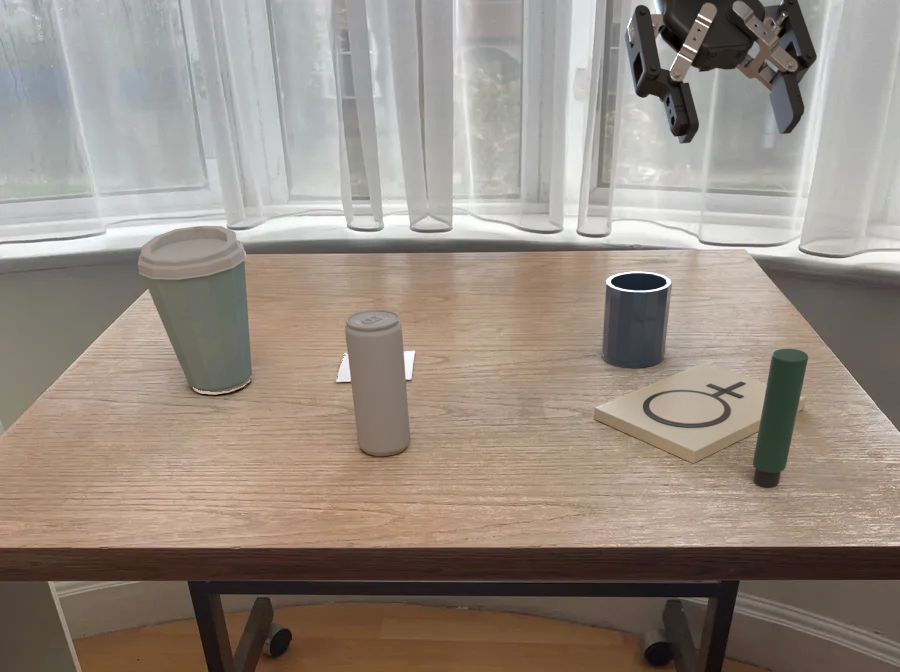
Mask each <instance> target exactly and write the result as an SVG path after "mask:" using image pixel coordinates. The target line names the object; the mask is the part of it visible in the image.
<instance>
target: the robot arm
mask: <svg viewBox="0 0 900 672" xmlns="http://www.w3.org/2000/svg"><path fill="white" fill-rule="evenodd" d="M653 3H654V4H653V5H654V7H655V11H656V12H655V13H651V11H650V8H649V7H648V6H646V5H644V4H639V5H637V6H636V7H635V8H634V10H633V13H632V16H631V18H630V19H629V23H628V25H627V27H626V30H625V32H624V41H625V46H626V51H627V57H628V61H629V67H630V68H629V69H630V72H631V73H630V74H631V79H632V83H633V89H634V93H635V94H636V96H637V97H638V98H642V99H645V98H647V97H648V96H649V95H650V96H654V97H656V98H657V97H658V100H659V101H660V102H661V103H663V107H664V111H665V114H666V118H667V123H668V127H669V131H670V132H671V134H672V135H673V137H675V138H677V139H678V142H679V144H681V145H683V144H690V143H691V142H693V139H694V137H695V136H696V134H697V132H698V131H699V128H700V121H699V116H698V113H697V109H696V105H695V102H694V98H693V93H692V90H691V86H690V83H689V82H684V79H685V78H686V76H687V74H688V71H689V69H690V68H691V67H692V68H694V69H697V70H698V71H697V72H699V73H701V72H710V71H712V70H715V69H720V70H727V71H728V70H736V69H737V70H738V71H740V72H741V73H742V74H743V75H744V76H745V77H746V78H747V79H749V80H753V79H756V80H758V82H760V83H761V84H762V85H763V86H764V87H766V89H768V90H769V94H768V98H769V102H770V105H771V108H772V112H773V115H774V119H775V123H776V126H777V130H778V133H779V134H780V135H786V134H787V135H788V134H791V133H792V132H793V130H794V129H795V128H796V127H797V125H798V124H799V123H800V122H801V119H802V116H803V115H804V113H805V104H804V101H803V97H802V94H801V89H800V85H799V84H800V82H801V81H802V80H803V78H804V77H805V75H806V73H807V72H808V71H809V70H810V68H811V67H812V66H813V65H814V63H815V62H816V61H817V58H818V57H817V51H816V49H815V47H814V44H813V40H812V38H811V35H810V32H809V29H808V27H807V23H806V21H805V18H804V14H803V12H802V8H801V6H800V3H799V0H781V2H780V3H779V4H773V5H766V6H764V4H763V3H762V2H761V0H653ZM658 36H660V38H661V39H662V40H663V42H664V43H666V44H667V46H668V47H670V48H671V49H672V50H673V51H674V52H675V53H676V57H675V58H674V60H673V63H672V65H671V67H670V69H665V68H662V67H661V62H660V57H659V51H658V46H657V41H656V40H657V38H658ZM754 43H756V44H757V45H758V47H759V50H758V53H757V54H756V56H755V57H752V56H751V55H750V54H749V53H750V51H751V50H752V48H753V47H754ZM768 61H769V62H770V63H771V64H772V65H773V66H774V67H776V69H777V70H776V71H775V70H774V69H773V68H772V67H771V66H770V65H769V64H768Z"/></svg>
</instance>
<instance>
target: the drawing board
mask: <svg viewBox="0 0 900 672" xmlns="http://www.w3.org/2000/svg"><path fill="white" fill-rule="evenodd" d="M766 387H767V382H763V381H761V380H758V379H756V378H752V377H749V376H747V375H743V374H741V373H738V372H736V371H732V370H730V369H727V368H724V367H721V366H718V365H715V364H712V363H709V362H707V361H704V362H700V363H698V364H696V365H693V366H692V367H691V366H690V367H689V368H687V369H684V370H681V371H680V372H676V373H675V374H672V375H670V376H667V377H665V378H663V379H660V380H658V381H655V382H653V383H650V384H648V385H646V386H644V387H640V388H638V389H636V390H634V391H631V392H628V393H627V394H625V395H622V396H619V397H617V398H614V399H611V400H609V401H608V402H605V403H602V404H600V405H597V406H595V407H594V410H593V411H594V414H593V420H596V421H598V422H600V423H602V424H605V425H606V426H609V427H611V428H613V429H615V430H618V431H620V432H622V433H624V434H627V435H629V436H631V437H634V438H636V439H638V440H639V441H643V442H644V443H646V444H649V445H651V446H653V447H656V448H657V449H660V450H662V451H664V452H667V453H669V454H671V455H674V456H676V457H678V458H680V459H682V460H684V461H687V462H688V463H691V464H696V463H697V462H699V461H702V460H703V459H705V458H707V457H709V456H712V455H714V454H715V453H717V452H719V451H722V450H723V449H726V448H728V447H730V446H731V445H733V444H736V443H737V442H740V441H742V440H744V439H746V438H748V437H750V436H752V435H754V434H756V433H758V431H759V425H760V420H761V414H762V409H763V403H764V398H765V392H766ZM806 400H807V397H806V396H803V395H802V394H801V395H800V400H799V405H798V410H797V413H799V412H800V411H803V410H804V409H805V405H806Z"/></svg>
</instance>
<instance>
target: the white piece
mask: <svg viewBox="0 0 900 672" xmlns="http://www.w3.org/2000/svg"><path fill="white" fill-rule="evenodd" d="M347 353H348V352H344V353H343V355H344V354H345V355H346V356H343V355H342V359H341V362H342V363H341V362H340V366H339V369H338V373H337V375H336V379H335V383H347V382H350V383H351V376H350V368H349V359H348V354H347ZM415 354H416V350H404V363H405V376H406V381H410V380H412V377H413V369H414V361H415ZM343 357H344V358H343ZM342 360H343V361H342ZM337 376H338V377H337ZM337 378H338V379H337Z"/></svg>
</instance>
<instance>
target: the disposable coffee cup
mask: <svg viewBox="0 0 900 672" xmlns="http://www.w3.org/2000/svg"><path fill="white" fill-rule="evenodd" d="M244 247H245V246H244V245H243V242H242V241H240V240H238V239H237V234H236V231H234V230H232V229H229V228H227V227H225V226H222V225H197V226H188V227H180V228H175V229H172V230H169V231H166V232H164V233H162V234H161V233H160V234H159V235H155V236H154V237H153V238H151V239H150V240H149V241H146V243H144V244H143V245H142V246H141V249H140V254H139V255H138V260H137V268H138V275H141V276H142V278H143V280H144V283H145V285H146V287H147V289H148V292H149V294H150V297H151V299H152V302H153V304H154V306H155V308H156V311H157V313H158V315H159V318H160V320H161V322H162V325H163V328H164V330H165V332H166V334H167V337H168V339H169V342H170V344H171V346H172V349H173V352H174V353H175V355H176V358H177V360H178V363H179V365H180V368H181V370H182V373H183V374H184V377H185V380H186V382H187V384H188V386H190V387H191V388H192V387H194V388H196V389H198V390H200V391H201V390H202V391H210V392H222V391H230V390H232V389H235V388H238V387H241V386H243V385H244V384H246V383H247V382H248V381H249V380H250V381H251V376H252V375H253V371H252V369H253V368H252V355H251V341H250V340H251V339H250V326H249V325H250V324H249V308H248V296H247V295H248V294H247V280H246V279H247V278H246V265H245V263H246V262H245V261H246V260H247V259H248V258H247V251H246V250H245V248H244Z"/></svg>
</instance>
